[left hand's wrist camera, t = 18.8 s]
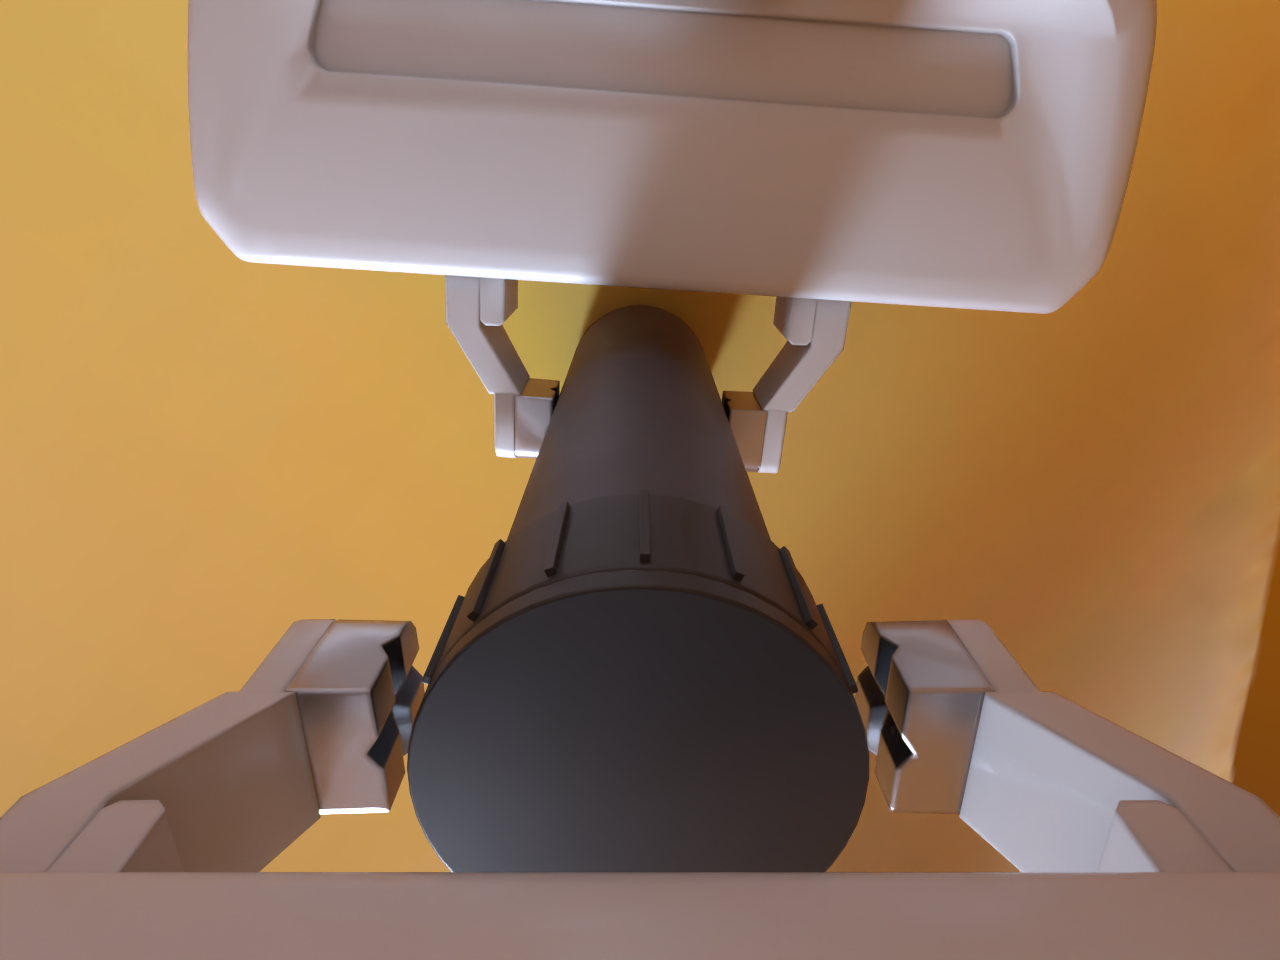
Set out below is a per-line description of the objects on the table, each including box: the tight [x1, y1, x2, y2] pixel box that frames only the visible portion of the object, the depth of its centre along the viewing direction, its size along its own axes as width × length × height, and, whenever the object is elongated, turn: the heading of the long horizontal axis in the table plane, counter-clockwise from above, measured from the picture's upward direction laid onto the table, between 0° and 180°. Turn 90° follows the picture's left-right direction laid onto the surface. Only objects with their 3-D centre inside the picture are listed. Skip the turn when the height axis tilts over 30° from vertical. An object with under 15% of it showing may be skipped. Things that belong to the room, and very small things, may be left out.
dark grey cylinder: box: [507, 306, 771, 540], centre depth 17 cm, size 4×4×18 cm
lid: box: [407, 490, 869, 872], centre depth 9 cm, size 5×5×2 cm
